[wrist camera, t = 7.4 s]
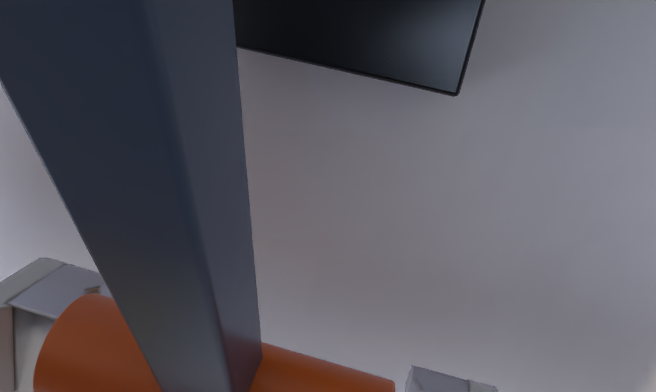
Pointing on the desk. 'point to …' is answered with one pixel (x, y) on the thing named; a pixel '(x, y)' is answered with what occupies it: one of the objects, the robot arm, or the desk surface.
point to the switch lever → (151, 197)
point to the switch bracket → (367, 37)
